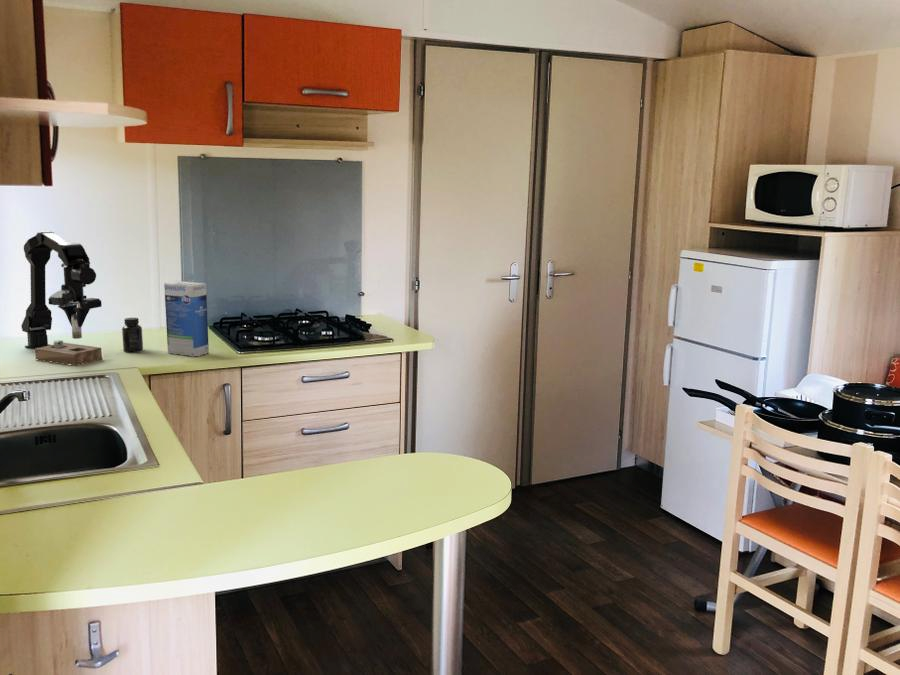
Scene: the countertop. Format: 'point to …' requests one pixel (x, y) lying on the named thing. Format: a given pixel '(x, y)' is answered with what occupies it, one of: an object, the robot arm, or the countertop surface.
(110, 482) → the countertop surface
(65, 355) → the hole block
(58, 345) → the short grey peg
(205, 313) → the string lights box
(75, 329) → the steel pin
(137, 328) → the supplement bottle
